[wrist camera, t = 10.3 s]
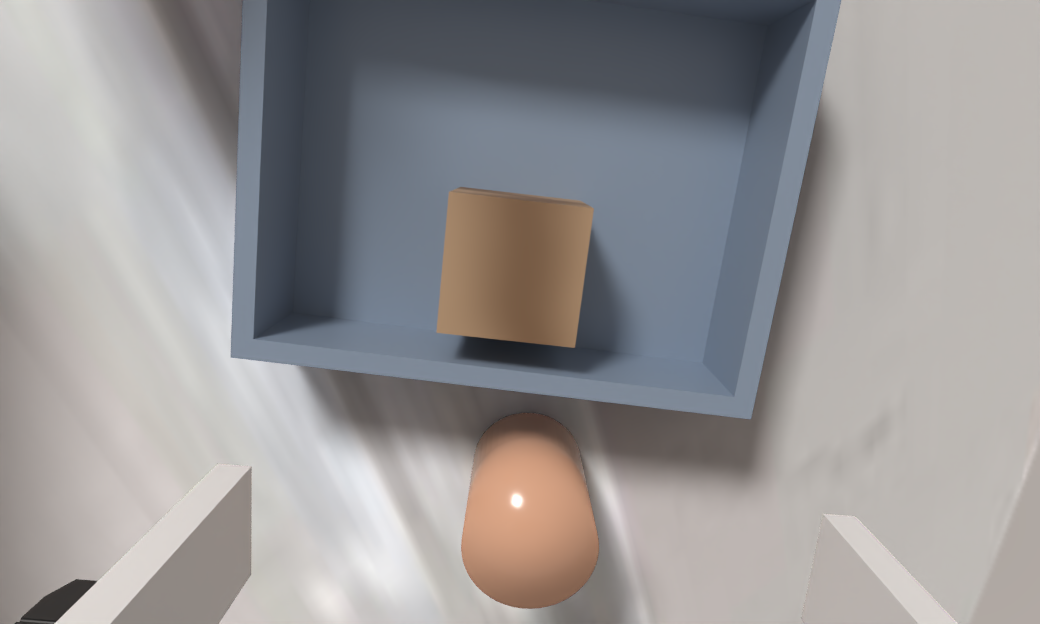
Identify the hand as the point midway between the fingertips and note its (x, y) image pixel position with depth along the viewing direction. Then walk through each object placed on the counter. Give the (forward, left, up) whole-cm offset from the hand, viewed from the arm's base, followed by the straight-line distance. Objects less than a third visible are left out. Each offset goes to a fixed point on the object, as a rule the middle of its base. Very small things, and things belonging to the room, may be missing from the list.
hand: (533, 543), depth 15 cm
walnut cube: (-1, +5, -14) cm, 15 cm away
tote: (-1, +8, -15) cm, 17 cm away
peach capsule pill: (+1, -5, -15) cm, 16 cm away
